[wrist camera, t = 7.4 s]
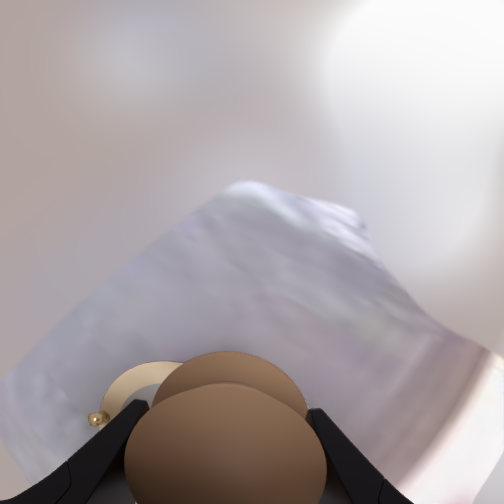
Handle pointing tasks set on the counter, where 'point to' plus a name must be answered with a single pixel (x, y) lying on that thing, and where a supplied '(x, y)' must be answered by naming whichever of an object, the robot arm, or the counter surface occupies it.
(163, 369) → the plate
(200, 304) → the counter surface
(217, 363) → the brown flanged knob
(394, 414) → the counter surface
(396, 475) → the counter surface
